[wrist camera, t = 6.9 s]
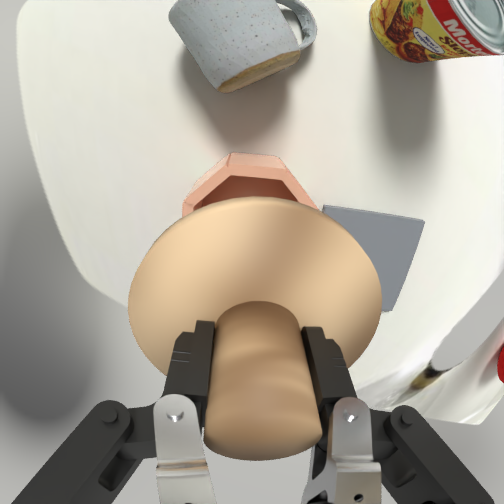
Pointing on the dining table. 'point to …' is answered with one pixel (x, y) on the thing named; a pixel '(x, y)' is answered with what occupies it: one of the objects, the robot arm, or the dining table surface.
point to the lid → (256, 313)
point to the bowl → (245, 182)
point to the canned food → (439, 28)
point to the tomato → (501, 365)
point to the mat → (383, 244)
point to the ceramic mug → (240, 38)
